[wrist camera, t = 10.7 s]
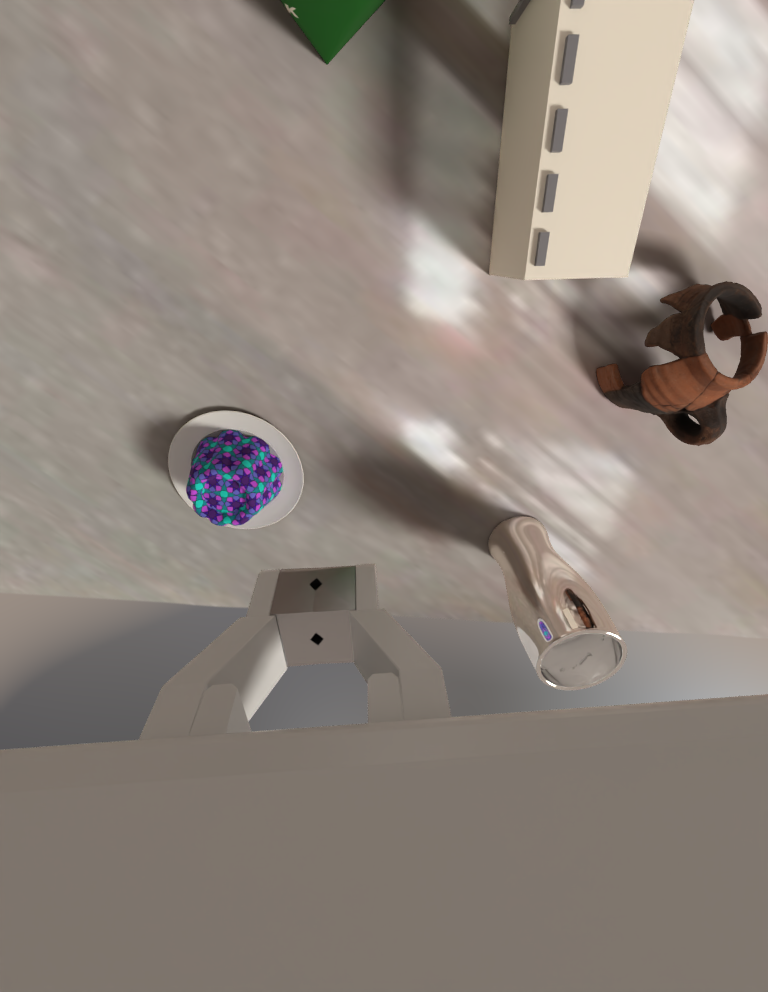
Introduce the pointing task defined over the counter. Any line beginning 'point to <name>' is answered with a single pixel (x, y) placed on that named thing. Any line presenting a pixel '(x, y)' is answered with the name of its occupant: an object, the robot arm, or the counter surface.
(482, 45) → the counter surface
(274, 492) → the pudding
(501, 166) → the block
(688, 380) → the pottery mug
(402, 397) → the counter surface
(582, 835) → the robot arm
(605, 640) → the beer glass
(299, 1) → the soya milk
